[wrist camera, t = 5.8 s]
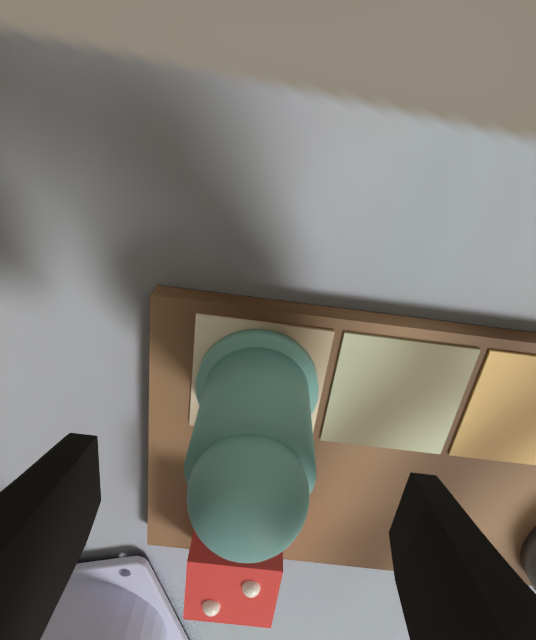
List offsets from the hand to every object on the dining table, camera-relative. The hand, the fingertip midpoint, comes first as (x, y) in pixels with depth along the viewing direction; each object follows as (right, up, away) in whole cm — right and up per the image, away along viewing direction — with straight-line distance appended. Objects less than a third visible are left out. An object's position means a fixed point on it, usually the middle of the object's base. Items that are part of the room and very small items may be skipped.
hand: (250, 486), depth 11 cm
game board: (+6, -1, +6) cm, 9 cm away
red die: (-1, -4, +7) cm, 8 cm away
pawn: (0, +2, +4) cm, 4 cm away
